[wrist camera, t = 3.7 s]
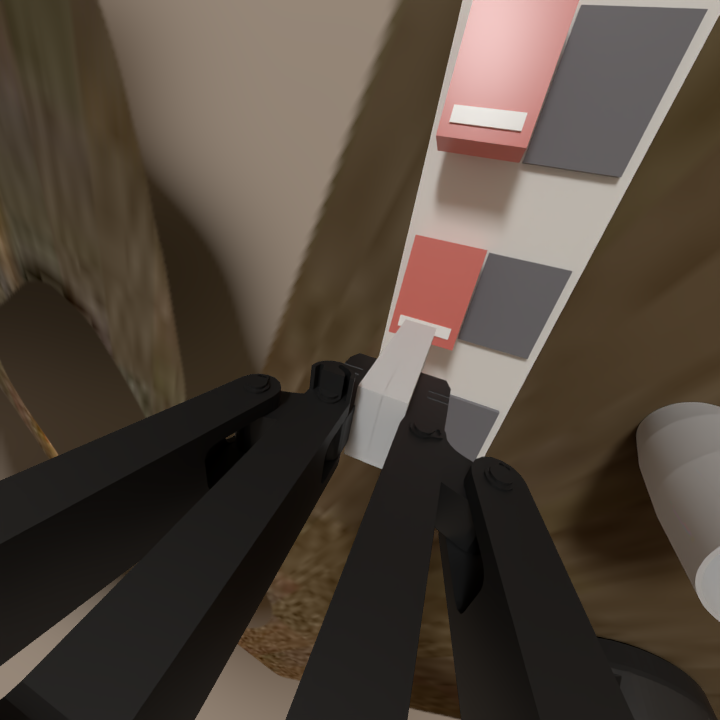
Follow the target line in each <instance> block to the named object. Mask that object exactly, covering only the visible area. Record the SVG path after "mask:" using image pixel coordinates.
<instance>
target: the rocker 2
mask: <svg viewBox="0 0 720 720" xmlns="http://www.w3.org/2000/svg"><path fill="white" fill-rule="evenodd" d="M578 3H579V0H473V2H472V5H471V9H470V13H469V16H468V20H467V24H466V27H465V31H464V34H463V38H462V42H461V45H460V49H459V53H458V56H457V60H456V64H455V67H454V71H453V75H452V78H451V82H450V86H449V89H448V93H447V97H446V100H445V104H444V108H443V111H442V115H441V118H440V122H439V126H438V129H437V133H436V141H437V150H438V151H444V152H451V153H457V154H464V155H470V156H477V157H484V158H490V159H497V160H503V161H510V162H517V163H519V162H520V160H521V158H522V156H523V154H524V152H525V150H526V148H527V146H528V143H529V140H530V137H531V135H532V132H533V129H534V126H535V123H536V121H537V118H538V115H539V112H540V109H541V106H542V104H543V101H544V98H545V95H546V92H547V90H548V87H549V84H550V81H551V78H552V76H553V73H554V70H555V67H556V64H557V62H558V59H559V56H560V53H561V50H562V48H563V45H564V42H565V39H566V36H567V33H568V31H569V28H570V25H571V22H572V19H573V17H574V14H575V11H576V8H577V5H578Z"/></svg>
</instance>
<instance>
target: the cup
mask: <svg viewBox="0 0 720 720" xmlns="http://www.w3.org/2000/svg"><path fill="white" fill-rule="evenodd" d="M636 441H637V451H638V460H639V467H640V470H641V473H642V476H643V479H644V481H645V484H646V487H647V490H648V493H649V495H650V498H651V501H652V504H653V507H654V510H655V512H656V515H657V517H658V519H659V521H660V523H661V525H662V527H663V529H664V531H665V533H666V535H667V537H668V539H669V541H670V543H671V545H672V547H673V549H674V550H675V552H676V554H677V556H678V558H679V560H680V562H681V564H682V566H683V568H684V570H685V572H686V574H687V576H688V578H689V580H690V581H691V583H692V585H693V587H694V589H695V591H696V593H697V595H698V597H699V599H700V601H701V602H702V604H703V605H704V607H705V608H706V609H707V610H708V611H709V613H710V614H711V615H712V616H714V617H715V618H716V619H717V620H718V621H719V622H720V407H718V406H715V405H711V404H707V403H699V402H685V403H677V404H672V405H669V406H665V407H663V408H660V409H658V410H656V411H654V412H652V413H651V414H649V415H648V416H647V417H646V418H645V419H644V420H643V421H642V422H641V423H640V425H639V427H638V429H637V432H636Z"/></svg>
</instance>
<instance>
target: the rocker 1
mask: <svg viewBox="0 0 720 720" xmlns="http://www.w3.org/2000/svg"><path fill="white" fill-rule="evenodd" d="M487 251H488V250H484V249H479V248H475V247H470V246H466V245H461V244H457V243H452V242H448V241H443V240H438V239H434V238H429V237H425V236H420V235H415V239H414V243H413V246H412V250H411V253H410V257H409V260H408V264H407V267H406V271H405V275H404V278H403V282H402V285H401V289H400V292H399V296H398V300H397V303H396V307H395V310H394V314H393V317H392V321H391V325H390V328H389V332H392V333H396V332H397V331H398V329H399V328H400V326H401V325H402V324H403V322H404V321H405V319H406V320H410V321H413V322H417V323H420V324H424V325H427V326H431V327H434V328H437V329H436V332H435V335H434V338H433V341H432V345H435V346H438V347H441V348H445V349H448V350H451V351H452V350H453V347H454V344H455V341H456V338H457V335H458V333H459V330H460V327H461V324H462V321H463V319H464V316H465V313H466V310H467V307H468V304H469V302H470V299H471V296H472V293H473V290H474V287H475V285H476V282H477V279H478V276H479V273H480V270H481V268H482V265H483V262H484V259H485V256H486V253H487Z"/></svg>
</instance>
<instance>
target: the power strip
mask: <svg viewBox="0 0 720 720" xmlns="http://www.w3.org/2000/svg"><path fill="white" fill-rule="evenodd" d="M472 2H473V0H463V1H462V6H461V10H460V14H459V18H458V23H457V27H456V31H455V35H454V40H453V44H452V48H451V52H450V57H449V61H448V65H447V69H446V74H445V78H444V82H443V86H442V91H441V95H440V99H439V104H438V108H437V112H436V116H435V121H434V125H433V129H432V133H431V138H430V142H429V146H428V150H427V155H426V159H425V163H424V167H423V172H422V176H421V180H420V184H419V189H418V193H417V197H416V201H415V206H414V210H413V214H412V218H411V223H410V227H409V231H408V236H407V240H406V244H405V248H404V253H403V257H402V261H401V265H400V270H399V274H398V278H397V282H396V287H395V291H394V295H393V299H392V304H391V308H390V312H389V316H388V321H387V325H386V329H385V333H384V338H383V342H382V346H381V350H380V354H381V353H382V352H383V350H384V349H385V347H386V346H387V345H388V343H389V342H390V340H391V339H392V338H393V336H394V335H395V333H392V332H389V328H390V325H391V321H392V317H393V314H394V310H395V307H396V303H397V300H398V296H399V292H400V289H401V285H402V282H403V278H404V275H405V271H406V267H407V264H408V260H409V257H410V253H411V250H412V246H413V243H414V239H415V235H420V236H425V237H429V238H434V239H438V240H443V241H448V242H452V243H457V244H461V245H466V246H470V247H475V248H479V249H484V250H488V251H487V253H486V256H485V259H484V262H483V265H482V268H481V270H480V273H479V276H478V279H477V282H476V285H475V287H474V290H473V293H472V296H471V299H470V302H469V304H468V307H467V310H466V313H465V316H464V319H463V321H462V324H461V327H460V330H459V333H458V335H457V338H456V341H455V344H454V347H453V350H452V351H451V350H448V349H445V348H441V347H438V346H435V345H432V344H431V347H430V350H429V353H428V356H427V359H426V362H425V365H424V369H423V372H422V373H425V374H428V375H431V376H434V377H437V378H440V379H443V380H446V381H447V383H448V385H449V387H450V389H451V391H450V397H449V404H448V411H447V417H446V424H445V432H446V436H447V441H448V442H449V444H450V445H451V446H452V447H453V448H454V449H455V450H456V451H457V452H459V453H460V454H461V455H463V456H464V457H466V458H468V459H469V460H471V461H472V462H474V460H475V459H477V458H480V457H484V456H485V454H486V452H487V450H488V448H489V447H490V445H491V443H492V441H493V439H494V437H495V435H496V433H497V432H498V430H499V428H500V426H501V424H502V422H503V420H504V418H505V417H506V415H507V413H508V411H509V409H510V407H511V405H512V403H513V402H514V400H515V398H516V396H517V394H518V392H519V390H520V388H521V386H522V385H523V383H524V381H525V379H526V377H527V375H528V373H529V371H530V370H531V368H532V366H533V364H534V362H535V360H536V358H537V356H538V355H539V353H540V351H541V349H542V347H543V345H544V343H545V341H546V340H547V338H548V336H549V334H550V332H551V330H552V328H553V326H554V325H555V323H556V321H557V319H558V317H559V315H560V313H561V311H562V309H563V308H564V306H565V304H566V302H567V300H568V298H569V296H570V294H571V293H572V291H573V289H574V287H575V285H576V283H577V281H578V279H579V278H580V276H581V274H582V272H583V270H584V268H585V266H586V264H587V263H588V261H589V259H590V257H591V255H592V253H593V251H594V249H595V247H596V246H597V244H598V242H599V240H600V238H601V236H602V234H603V232H604V231H605V229H606V227H607V225H608V223H609V221H610V219H611V217H612V216H613V214H614V212H615V210H616V208H617V206H618V204H619V202H620V201H621V199H622V197H623V195H624V193H625V191H626V189H627V187H628V186H629V184H630V182H631V180H632V178H633V176H634V174H635V172H636V170H637V169H638V167H639V165H640V163H641V161H642V159H643V157H644V155H645V154H646V152H647V150H648V148H649V146H650V144H651V142H652V140H653V139H654V137H655V135H656V133H657V131H658V129H659V127H660V125H661V124H662V122H663V120H664V118H665V116H666V114H667V112H668V110H669V108H670V107H671V105H672V103H673V101H674V99H675V97H676V95H677V93H678V92H679V90H680V88H681V86H682V84H683V82H684V80H685V78H686V77H687V75H688V73H689V71H690V69H691V67H692V65H693V63H694V62H695V60H696V58H697V56H698V54H699V52H700V50H701V48H702V47H703V45H704V43H705V41H706V39H707V37H708V35H709V33H710V31H711V30H712V28H713V26H714V24H715V22H716V20H717V18H718V16H719V15H720V0H579V3H578V5H577V8H576V11H575V14H574V17H573V19H572V22H571V25H570V28H569V31H568V33H567V36H566V39H565V42H564V45H563V48H562V50H561V53H560V56H559V59H558V62H557V64H556V67H555V70H554V73H553V76H552V78H551V81H550V84H549V87H548V90H547V92H546V95H545V98H544V101H543V104H542V106H541V109H540V112H539V115H538V118H537V121H536V123H535V126H534V129H533V132H532V135H531V137H530V140H529V143H528V146H527V148H526V150H525V152H524V154H523V156H522V158H521V160H520V162H519V163H517V162H510V161H503V160H497V159H490V158H484V157H477V156H470V155H464V154H457V153H451V152H444V151H438V150H437V141H436V133H437V129H438V126H439V122H440V118H441V115H442V111H443V108H444V104H445V100H446V97H447V93H448V89H449V86H450V82H451V78H452V75H453V71H454V67H455V64H456V60H457V56H458V53H459V49H460V45H461V42H462V38H463V34H464V31H465V27H466V24H467V20H468V16H469V13H470V9H471V5H472ZM379 356H380V355H379Z"/></svg>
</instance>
